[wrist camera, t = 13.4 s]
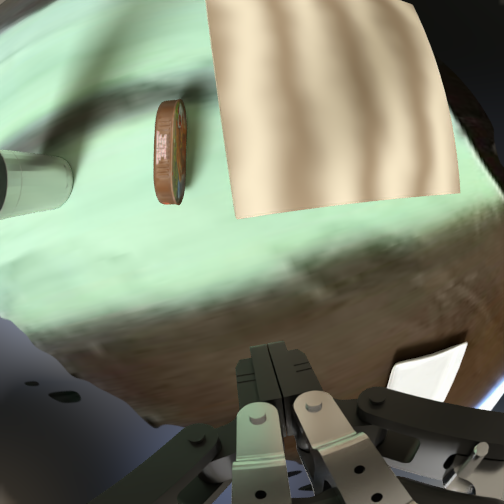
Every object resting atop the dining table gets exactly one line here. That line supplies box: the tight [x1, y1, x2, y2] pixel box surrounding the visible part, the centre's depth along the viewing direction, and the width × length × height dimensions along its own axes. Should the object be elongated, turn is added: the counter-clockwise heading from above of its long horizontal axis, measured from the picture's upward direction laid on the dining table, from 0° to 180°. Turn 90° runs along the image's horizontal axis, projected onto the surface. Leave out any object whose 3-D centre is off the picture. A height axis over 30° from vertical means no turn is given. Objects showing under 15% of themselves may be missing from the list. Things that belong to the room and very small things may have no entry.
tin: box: [154, 99, 187, 205], centre depth 35 cm, size 15×3×8 cm, turn 179°
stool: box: [205, 0, 460, 219], centre depth 29 cm, size 24×24×21 cm
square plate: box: [387, 342, 467, 402], centre depth 55 cm, size 27×27×4 cm
